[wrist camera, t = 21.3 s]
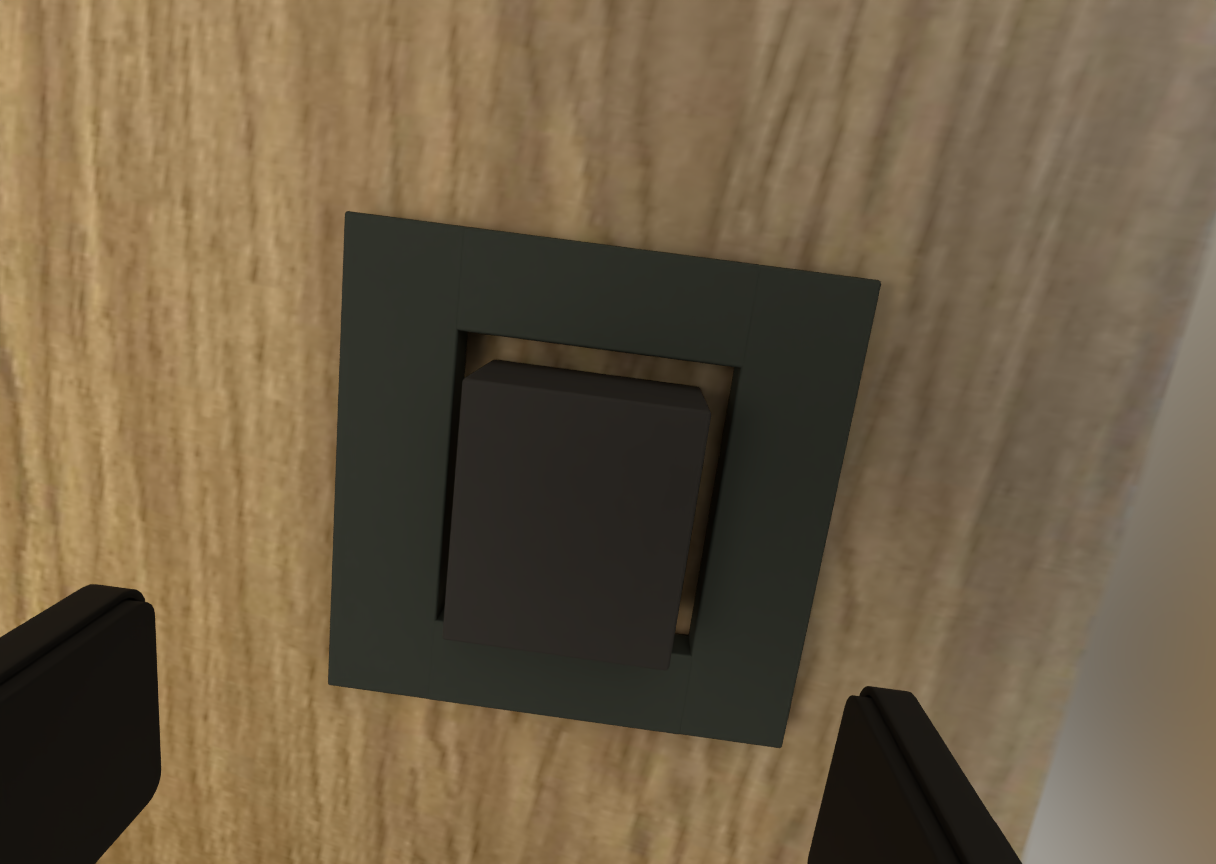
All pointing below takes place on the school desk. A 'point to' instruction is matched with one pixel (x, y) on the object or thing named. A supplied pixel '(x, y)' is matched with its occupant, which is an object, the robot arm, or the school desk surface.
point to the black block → (573, 512)
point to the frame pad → (609, 320)
